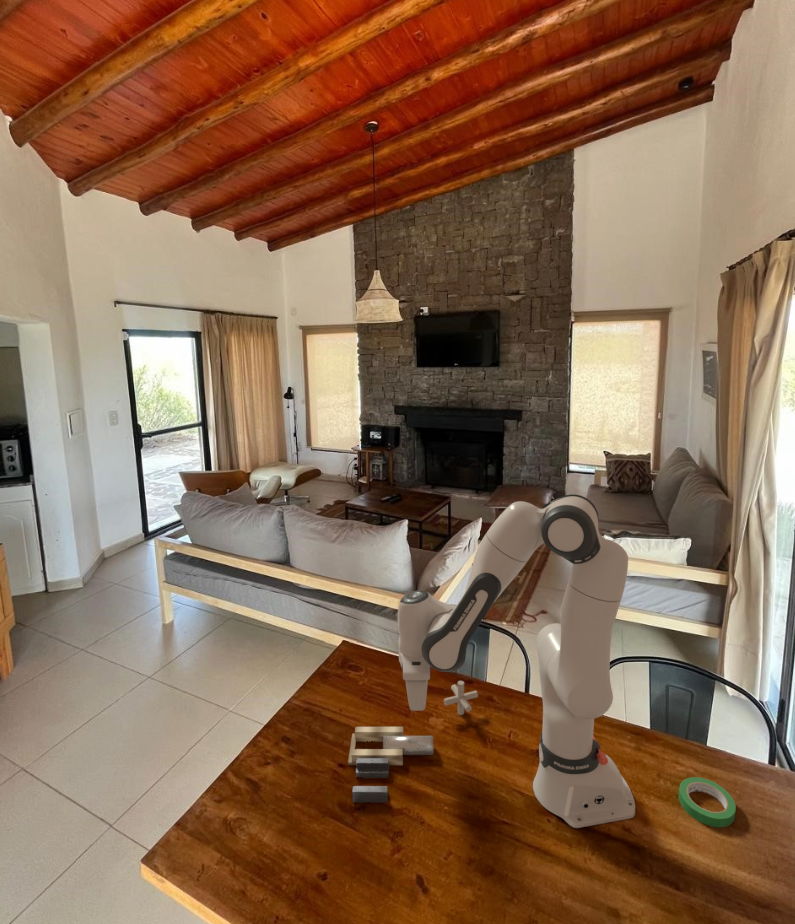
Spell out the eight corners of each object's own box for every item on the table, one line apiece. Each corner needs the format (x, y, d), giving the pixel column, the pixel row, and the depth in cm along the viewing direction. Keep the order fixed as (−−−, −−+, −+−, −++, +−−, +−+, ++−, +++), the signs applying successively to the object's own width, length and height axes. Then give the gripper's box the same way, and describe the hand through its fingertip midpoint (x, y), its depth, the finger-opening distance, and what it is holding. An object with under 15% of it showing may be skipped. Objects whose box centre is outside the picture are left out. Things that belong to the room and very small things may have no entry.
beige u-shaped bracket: (403, 736, 141) (403, 726, 141) (402, 765, 131) (402, 755, 131) (352, 736, 142) (352, 726, 141) (348, 765, 132) (347, 755, 131)
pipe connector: (468, 698, 156) (468, 668, 153) (484, 720, 146) (484, 689, 144) (438, 706, 153) (437, 676, 150) (452, 729, 143) (452, 697, 141)
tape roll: (701, 832, 112) (703, 822, 111) (667, 790, 123) (669, 780, 122) (746, 823, 114) (748, 814, 113) (709, 783, 124) (710, 773, 124)
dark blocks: (388, 768, 131) (388, 758, 130) (386, 802, 121) (386, 791, 120) (357, 768, 131) (356, 758, 130) (352, 802, 121) (352, 791, 120)
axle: (432, 742, 138) (432, 732, 136) (433, 758, 134) (433, 747, 132) (384, 742, 139) (383, 732, 136) (383, 758, 135) (382, 747, 133)
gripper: (404, 631, 140) (405, 675, 143) (402, 678, 120) (404, 729, 123) (427, 630, 140) (428, 675, 143) (430, 678, 120) (431, 729, 123)
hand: (417, 701), depth 133 cm, fingers open, 2 cm apart
